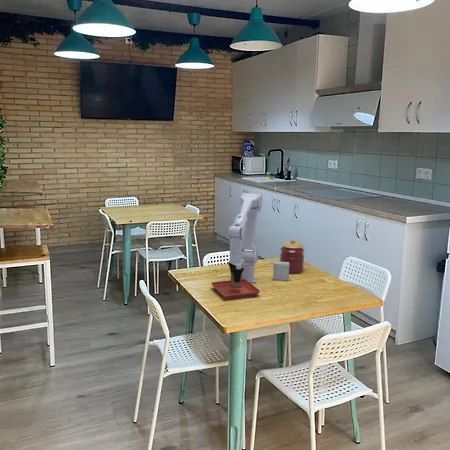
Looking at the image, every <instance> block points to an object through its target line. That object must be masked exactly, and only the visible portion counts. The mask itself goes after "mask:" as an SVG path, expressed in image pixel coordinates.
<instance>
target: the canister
mask: <svg viewBox="0 0 450 450" xmlns="http://www.w3.org/2000/svg"><path fill="white" fill-rule="evenodd" d="M303 247H304V245H303V244H302V243H301V242H298V241H296V239H294V238H291V239H290V240H289V241H288V240H287V241H285V242H283V243H282V244H281V247H280V248H279V249H280V254H279V256H280V257H279V262H289V274H301V273H303V271H304V268H305V267H304V262H305V261H304V259H305V254H304V252H305V249H304V248H303Z"/></svg>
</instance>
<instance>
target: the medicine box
mask: <svg viewBox="0 0 450 450" xmlns="http://www.w3.org/2000/svg"><path fill="white" fill-rule="evenodd" d="M272 269H273V272H272V273H273V274H272V275H273V276H272V280H273V281H290V280H289V279H290V273H289V262H280V261H273V268H272Z"/></svg>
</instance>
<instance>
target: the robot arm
mask: <svg viewBox="0 0 450 450" xmlns="http://www.w3.org/2000/svg"><path fill="white" fill-rule="evenodd" d="M240 205H241V208H240V211H239V213H238V214H237V215H236V216H235V218H234V222H232V223H233V224H232V225H231V226H229V227H228V230H227V231H228V233H227V234H228V235H227V236H228V242H229V261H228V262H227V265H228V267H229V271H230V272H229V273H230V274H231V273H233V275H234V282H235V283H239V282H240V278H241V275H242V279H246V280H247V281H248V282H250V283H251V284H252V283H257V281H256V279H255V264H257V263H258V259H259V250H258V248H257V246H255V244H254V242H255V241H254V239H255V233H256V225H257V216H258V213H259V212H261V211H262V206H263V195H262V194H261V193H250V192H249V193H246V192H242V193H241V195H240Z"/></svg>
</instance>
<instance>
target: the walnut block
mask: <svg viewBox="0 0 450 450" xmlns="http://www.w3.org/2000/svg"><path fill="white" fill-rule="evenodd" d="M230 280H231V284H230V285H231V287H232V288H242V275H241V278H240V282H239V283H235V282H234V275H233V273H231V272H230Z"/></svg>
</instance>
